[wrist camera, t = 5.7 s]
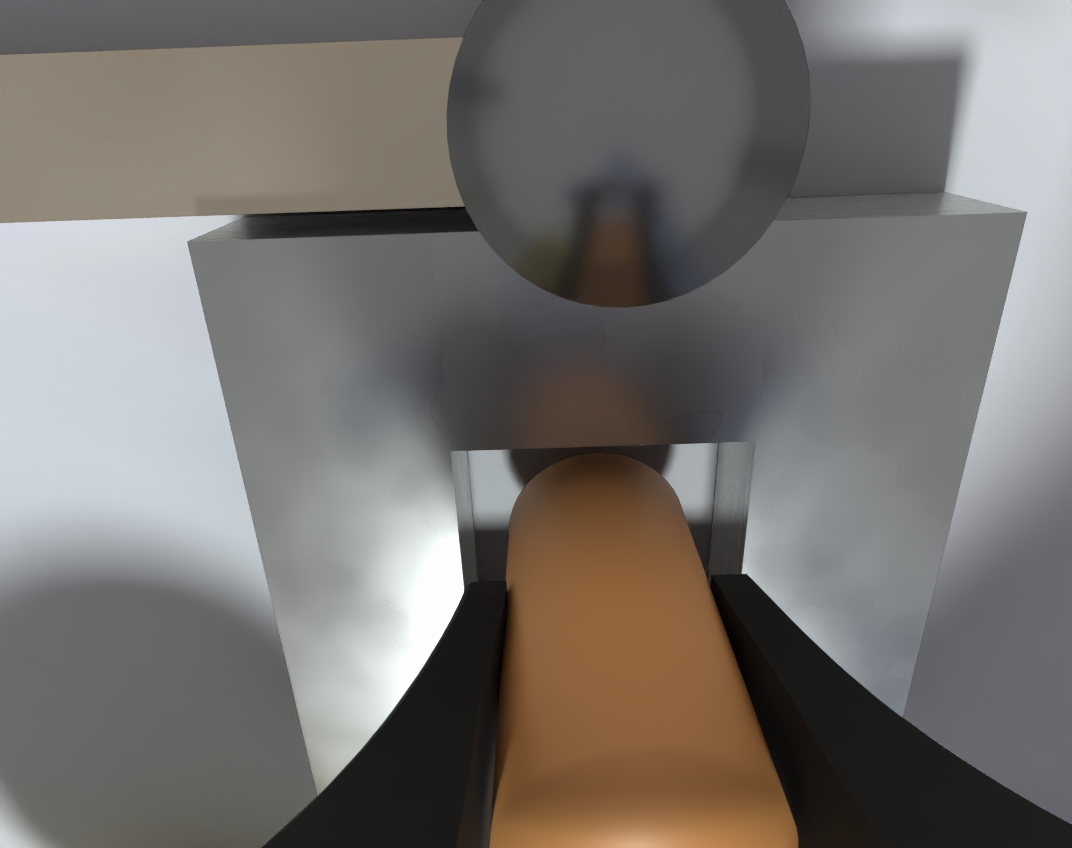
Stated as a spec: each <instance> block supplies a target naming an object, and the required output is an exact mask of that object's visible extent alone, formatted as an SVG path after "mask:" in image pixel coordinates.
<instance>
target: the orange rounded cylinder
mask: <svg viewBox="0 0 1072 848" xmlns="http://www.w3.org/2000/svg"><path fill="white" fill-rule="evenodd" d="M506 581H507V607H506V625H505V638H504V646H503V654H502V664H501V675H500V685H499V701H498V717H497V733H496V750H495V766H494V783H493V799H492V816H491V832H490V848H798V834H797V827H796V824H795V822H794V819H793V816H792V813H791V810H790V808H789V805H788V802H787V799H786V797H785V794H784V791H783V788H782V785H781V783H780V780H779V777H778V774H777V771H776V769H775V766H774V763H773V760H772V758H771V755H770V752H769V749H768V746H767V744H766V741H765V738H764V735H763V732H762V730H761V727H760V724H759V721H758V719H757V716H756V713H755V710H754V707H753V705H752V702H751V699H750V696H749V693H748V691H747V688H746V685H745V682H744V680H743V677H742V674H741V671H740V668H739V666H738V663H737V660H736V657H735V654H734V652H733V649H732V646H731V643H730V641H729V638H728V635H727V632H726V629H725V627H724V624H723V621H722V618H721V616H720V613H719V610H718V607H717V604H716V602H715V599H714V596H713V593H712V590H711V588H710V585H709V582H708V579H707V577H706V574H705V571H704V568H703V565H702V563H701V560H700V557H699V554H698V551H697V549H696V546H695V543H694V540H693V538H692V535H691V532H690V529H689V526H688V524H687V521H686V518H685V515H684V512H683V510H682V507H681V504H680V501H679V499H678V497H677V495H676V493H675V491H674V490H673V488H672V487H671V486H670V484H669V483H668V482H667V481H666V480H665V479H664V478H663V477H662V476H661V475H660V474H659V473H658V472H657V471H655V470H654V469H652V468H651V467H649V466H648V465H646V464H644V463H642V462H640V461H638V460H635V459H632V458H630V457H626V456H622V455H618V454H610V453H590V454H582V455H577V456H573V457H569V458H566V459H564V460H561V461H558V462H556V463H554V464H552V465H550V466H549V467H547V468H546V469H544V470H543V471H541V472H540V473H538V474H537V475H536V476H535V477H534V478H533V479H531V480H530V482H529V483H528V484H527V485H526V486H525V487H524V489H523V490H522V492H521V493H520V494H519V496H518V498H517V500H516V502H515V504H514V506H513V509H512V513H511V516H510V523H509V536H508V552H507V569H506Z"/></svg>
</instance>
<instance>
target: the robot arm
mask: <svg viewBox="0 0 1072 848" xmlns="http://www.w3.org/2000/svg"><path fill="white" fill-rule="evenodd" d="M710 588H711V590H712V593H713V596H714V599H715V602H716V604H717V607H718V610H719V613H720V616H721V618H722V621H723V624H724V627H725V629H726V632H727V635H728V638H729V641H730V643H731V646H732V649H733V652H734V654H735V657H736V660H737V663H738V666H739V668H740V671H741V674H742V677H743V680H744V682H745V685H746V688H747V691H748V693H749V696H750V699H751V702H752V705H753V707H754V710H755V713H756V716H757V719H758V721H759V724H760V727H761V730H762V732H763V735H764V738H765V741H766V744H767V746H768V749H769V752H770V755H771V758H772V760H773V763H774V766H775V769H776V771H777V774H778V777H779V780H780V783H781V785H782V788H783V791H784V794H785V797H786V799H787V802H788V805H789V808H790V810H791V813H792V816H793V819H794V822H795V824H796V827H797V834H798V848H1072V825H1071V824H1069V823H1067V822H1066V821H1064V820H1062V819H1060V818H1058V817H1057V816H1055V815H1053V814H1051V813H1049V812H1047V811H1046V810H1044V809H1042V808H1040V807H1038V806H1037V805H1035V804H1033V803H1031V802H1030V801H1028V800H1026V799H1025V798H1023V797H1021V796H1020V795H1018V794H1016V793H1014V792H1013V791H1011V790H1009V789H1008V788H1006V787H1004V786H1003V785H1001V784H999V783H998V782H996V781H995V780H993V779H992V778H990V777H988V776H987V775H985V774H984V773H982V772H981V771H979V770H978V769H976V768H974V767H973V766H971V765H970V764H968V763H967V762H965V761H963V760H962V759H960V758H959V757H957V756H956V755H954V754H953V753H951V752H950V751H948V750H947V749H945V748H944V747H942V746H941V745H940V744H938V743H937V742H935V741H934V740H932V739H931V738H930V737H928V736H927V735H926V734H924V733H923V732H921V731H920V730H919V729H917V728H916V727H915V726H913V725H912V724H911V723H909V722H908V721H907V720H905V719H904V718H902V717H901V716H900V715H898V714H897V713H896V712H894V711H893V710H892V709H891V708H889V707H888V706H887V705H886V704H884V703H883V702H882V701H880V700H879V699H878V698H877V697H875V696H874V695H873V694H872V693H871V692H870V691H868V690H867V689H866V688H865V687H864V686H862V685H861V684H860V683H859V682H858V681H857V680H855V679H854V678H853V677H852V676H851V675H849V674H848V673H847V672H846V671H845V670H844V669H843V668H842V667H840V666H839V665H838V664H837V663H836V662H835V661H834V660H833V659H832V658H831V657H830V656H829V655H828V654H826V653H825V652H824V651H823V650H822V649H821V648H820V647H819V646H818V645H817V644H816V643H815V642H814V641H813V640H812V639H811V638H810V637H809V636H808V635H806V634H805V633H804V632H803V631H802V630H801V629H800V628H799V627H798V626H797V625H796V624H795V623H794V622H793V621H792V620H791V619H790V618H789V617H788V615H787V614H786V613H785V612H784V611H783V610H782V609H781V608H780V607H779V606H778V605H777V604H776V603H775V602H774V601H773V600H772V599H771V598H770V597H769V596H768V595H767V594H766V593H765V592H764V591H763V590H762V589H761V588H760V587H759V586H758V585H757V584H756V583H755V582H754V581H753V580H752V579H751V578H750V577H749V576H748V575H747V574H724V575H711V583H710ZM506 607H507V581H483V582H471V583H470V584H469V585H468V586H467V587H465V590H464V592H463V595H462V597H461V599H460V602H459V604H458V606H457V608H456V610H455V612H454V614H453V616H452V618H451V620H450V622H449V623H448V625H447V627H446V629H445V631H444V633H443V634H442V636H441V638H440V639H439V641H438V643H437V644H436V646H435V648H434V649H433V651H432V653H431V654H430V656H429V658H428V659H427V661H426V663H425V664H424V666H423V667H422V669H421V670H420V672H419V673H418V675H417V676H416V678H415V679H414V681H413V682H412V683H411V685H410V686H409V688H408V689H407V691H406V692H405V694H404V695H403V696H402V698H401V699H400V701H399V702H398V704H397V705H396V706H395V708H394V709H393V710H392V712H391V713H390V714H389V716H388V717H387V718H386V719H385V721H384V722H383V723H382V725H381V726H380V727H379V728H378V730H377V731H376V732H375V733H374V734H373V736H372V737H371V738H370V739H369V740H368V742H367V743H366V744H365V745H364V746H363V748H362V749H361V750H360V751H359V752H358V753H357V754H356V756H355V757H354V758H353V759H352V760H351V761H350V762H349V763H348V764H347V765H346V766H345V768H344V769H343V770H342V771H341V772H340V773H339V774H338V775H337V776H336V777H335V778H334V779H333V781H332V782H331V783H330V784H329V785H328V786H327V787H326V788H325V789H324V790H323V791H322V792H321V793H320V794H319V795H318V796H317V797H316V798H315V799H314V800H313V801H312V802H311V803H310V804H309V805H308V806H307V807H306V808H304V809H303V810H302V811H301V812H300V813H299V814H298V815H297V816H296V817H295V818H293V819H292V820H291V821H290V822H289V823H288V824H287V825H286V826H285V827H284V828H283V829H281V830H280V831H279V832H278V833H277V834H276V835H275V836H274V837H273V838H272V839H271V840H269V841H268V842H267V843H266V844H265V845H264V846H263V847H262V848H490V832H491V816H492V799H493V783H494V766H495V750H496V733H497V717H498V701H499V685H500V675H501V664H502V654H503V646H504V638H505V625H506Z"/></svg>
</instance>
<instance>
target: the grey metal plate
mask: <svg viewBox="0 0 1072 848" xmlns="http://www.w3.org/2000/svg"><path fill="white" fill-rule="evenodd" d="M809 116H810V84H809V72H808V66H807V61H806V56H805V51H804V46H803V43H802V40H801V37H800V34H799V31H798V29H797V26H796V23H795V20H794V18H793V16H792V14H791V12H790V10H789V8H788V6H787V4H786V2H785V0H483V2H482V3H481V5H480V6H479V8H478V9H477V11H476V13H475V15H474V17H473V19H472V20H471V22H470V24H469V26H468V28H467V30H466V32H465V34H464V37H452V38H426V39H400V40H374V41H348V42H322V43H296V44H270V45H244V46H218V47H192V48H166V49H141V50H115V51H89V52H63V53H37V54H11V55H0V223H13V222H41V221H69V220H97V219H125V218H153V217H181V216H209V215H237V214H265V213H293V212H321V211H349V210H377V209H405V208H434V207H462V206H465V208H466V209H464V210H436V211H407V212H379V213H351V214H323V215H295V216H267V217H243V218H241V219H239V220H236V221H234V222H232V223H229V224H227V225H225V226H222V227H220V228H218V229H215V230H213V231H211V232H208V233H206V234H204V235H201V236H199V237H197V238H195V239H192V240H190V241H188V242H187V243H188V247H189V252H190V256H191V260H192V264H193V269H194V273H195V277H196V281H197V286H198V290H199V294H200V298H201V303H202V307H203V311H204V315H205V320H206V324H207V328H208V332H209V337H210V341H211V345H212V349H213V354H214V358H215V362H216V366H217V371H218V375H219V379H220V383H221V388H222V392H223V396H224V400H225V405H226V409H227V413H228V417H229V422H230V426H231V430H232V435H233V439H234V443H235V447H236V452H237V456H238V460H239V464H240V469H241V473H242V477H243V481H244V486H245V490H246V494H247V498H248V503H249V507H250V511H251V515H252V520H253V524H254V528H255V532H256V537H257V541H258V545H259V549H260V554H261V558H262V562H263V566H264V571H265V575H266V579H267V583H268V588H269V592H270V596H271V600H272V605H273V609H274V613H275V617H276V622H277V626H278V630H279V634H280V639H281V643H282V647H283V651H284V656H285V660H286V664H287V668H288V673H289V677H290V681H291V685H292V690H293V694H294V698H295V702H296V707H297V711H298V715H299V719H300V724H301V728H302V732H303V736H304V741H305V745H306V749H307V753H308V758H309V762H310V766H311V770H312V775H313V779H314V783H315V787H316V792H317V796H318V795H319V794H320V793H321V792H322V791H323V790H324V789H325V788H326V787H327V786H328V785H329V784H330V783H331V782H332V781H333V779H334V778H335V777H336V776H337V775H338V774H339V773H340V772H341V771H342V770H343V769H344V768H345V766H346V765H347V764H348V763H349V762H350V761H351V760H352V759H353V758H354V757H355V756H356V754H357V753H358V752H359V751H360V750H361V749H362V748H363V746H364V745H365V744H366V743H367V742H368V740H369V739H370V738H371V737H372V736H373V734H374V733H375V732H376V731H377V730H378V728H379V727H380V726H381V725H382V723H383V722H384V721H385V719H386V718H387V717H388V716H389V714H390V713H391V712H392V710H393V709H394V708H395V706H396V705H397V704H398V702H399V701H400V699H401V698H402V696H403V695H404V694H405V692H406V691H407V689H408V688H409V686H410V685H411V683H412V682H413V681H414V679H415V678H416V676H417V675H418V673H419V672H420V670H421V669H422V667H423V666H424V664H425V663H426V661H427V659H428V658H429V656H430V654H431V653H432V651H433V649H434V648H435V646H436V644H437V643H438V641H439V639H440V638H441V636H442V634H443V633H444V631H445V629H446V627H447V625H448V623H449V622H450V620H451V618H452V616H453V614H454V612H455V610H456V608H457V606H458V604H459V602H460V599H461V597H462V595H463V592H464V590H465V587H467V586H468V585H469V584H470V583H471V582H478V573H477V561H476V549H475V537H474V525H473V513H472V501H471V489H470V477H469V465H468V453H467V451H471V450H503V449H535V448H566V447H598V446H630V445H662V444H693V443H719V449H718V461H717V473H716V486H715V498H714V510H713V522H712V535H711V547H710V559H709V571H708V582H709V585H710V583H711V575H724V574H747V575H748V576H749V577H750V578H751V579H752V580H753V581H754V582H755V583H756V584H757V585H758V586H759V587H760V588H761V589H762V590H763V591H764V592H765V593H766V594H767V595H768V596H769V597H770V598H771V599H772V600H773V601H774V602H775V603H776V604H777V605H778V606H779V607H780V608H781V609H782V610H783V611H784V612H785V613H786V614H787V615H788V617H789V618H790V619H791V620H792V621H793V622H794V623H795V624H796V625H797V626H798V627H799V628H800V629H801V630H802V631H803V632H804V633H805V634H806V635H808V636H809V637H810V638H811V639H812V640H813V641H814V642H815V643H816V644H817V645H818V646H819V647H820V648H821V649H822V650H823V651H824V652H825V653H826V654H828V655H829V656H830V657H831V658H832V659H833V660H834V661H835V662H836V663H837V664H838V665H839V666H840V667H842V668H843V669H844V670H845V671H846V672H847V673H848V674H849V675H851V676H852V677H853V678H854V679H855V680H857V681H858V682H859V683H860V684H861V685H862V686H864V687H865V688H866V689H867V690H868V691H870V692H871V693H872V694H873V695H874V696H875V697H877V698H878V699H879V700H880V701H882V702H883V703H884V704H886V705H887V706H888V707H889V708H891V709H892V710H893V711H894V712H896V713H897V714H898V715H900V716H901V717H902V718H903V715H904V711H905V707H906V703H907V698H908V694H909V690H910V686H911V682H912V678H913V674H914V670H915V666H916V662H917V658H918V654H919V650H920V646H921V642H922V638H923V633H924V629H925V625H926V621H927V617H928V613H929V609H930V605H931V601H932V597H933V593H934V589H935V585H936V581H937V577H938V573H939V568H940V564H941V560H942V556H943V552H944V548H945V544H946V540H947V536H948V532H949V528H950V524H951V520H952V516H953V512H954V508H955V503H956V499H957V495H958V491H959V487H960V483H961V479H962V475H963V471H964V467H965V463H966V459H967V455H968V451H969V447H970V443H971V438H972V434H973V430H974V426H975V422H976V418H977V414H978V410H979V406H980V402H981V398H982V394H983V390H984V386H985V382H986V378H987V373H988V369H989V365H990V361H991V357H992V353H993V349H994V345H995V341H996V337H997V333H998V329H999V325H1000V321H1001V317H1002V313H1003V308H1004V304H1005V300H1006V296H1007V292H1008V288H1009V284H1010V280H1011V276H1012V272H1013V268H1014V264H1015V260H1016V256H1017V252H1018V248H1019V243H1020V239H1021V235H1022V231H1023V227H1024V223H1025V219H1026V215H1027V212H1025V211H1021V210H1017V209H1012V208H1008V207H1004V206H1000V205H996V204H992V203H988V202H984V201H979V200H975V199H971V198H967V197H963V196H959V195H955V194H951V193H946V192H941V193H913V194H885V195H857V196H829V197H801V198H787V197H788V195H789V192H790V190H791V188H792V185H793V183H794V181H795V178H796V176H797V174H798V170H799V167H800V164H801V160H802V157H803V154H804V150H805V145H806V139H807V133H808V128H809Z"/></svg>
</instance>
